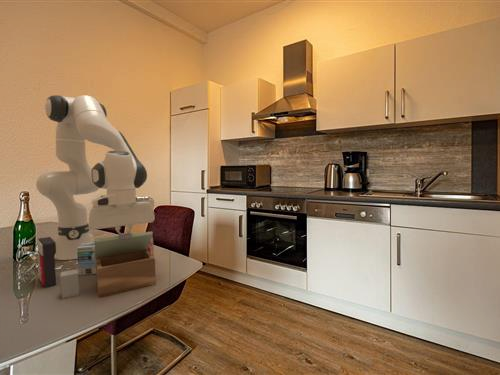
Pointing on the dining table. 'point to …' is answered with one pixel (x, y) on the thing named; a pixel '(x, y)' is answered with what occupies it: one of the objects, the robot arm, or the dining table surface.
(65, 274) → the block
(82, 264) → the light bulb box
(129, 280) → the storage box
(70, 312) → the dining table surface
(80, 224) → the robot arm
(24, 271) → the dining table surface
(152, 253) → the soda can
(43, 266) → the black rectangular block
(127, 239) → the lid
